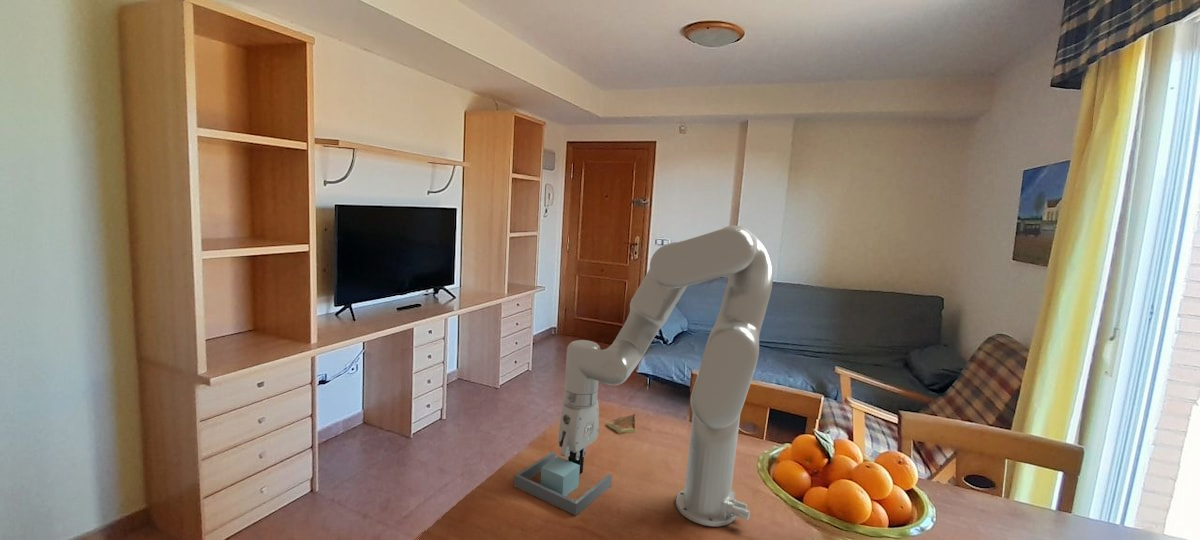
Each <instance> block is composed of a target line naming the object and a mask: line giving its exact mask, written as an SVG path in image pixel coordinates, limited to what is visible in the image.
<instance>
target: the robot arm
mask: <svg viewBox="0 0 1200 540" xmlns="http://www.w3.org/2000/svg"><path fill="white" fill-rule="evenodd" d="M773 272H774V270H773V264H772V261H771V257H770V255H769V253H768V251H767V249H766V247H765V246H764V244H763V243H762V242H761V241H760V239H759V238H758V237H757V236H756V235H755V234H754V233H753V232H751V231H750V230H749V229H747V228H745V227H743V226H742V225H741V226H740V225H734V224H733V225H727V226H725V227H723V228H721V229H717V230H715V231H714V230H713V231H711V232H708V233H704V234H701V235H698V236H695V237H692V238H687V239H685V240H681V241H678V242H676V241H674V242H670V243H667V244H663V245H662V246H660V247H659V248H657V250H656V251H655V252H654V253H653V254H652V256H651V258H650V261H649V269H648V271H647V273H646V275H645V277H644V278H643V279H642V281H641V283H640V285H639V286H638V287H637V289H636V291H635V293H634V294H633V296H632V298H631V300H630V303H629V313H628V315H627V318H626V320H625V322H624V324H623V325H622V328H620V330H619V332H618V334H617V336H616V338H615V339H614V340H613V342H612V344H610V345H609V346H608V347H607V348H604V349H601V346H600V345H599V344H598V343H597V342H595V341H591V340H585V339H579V340H574V341H571V342H570V343H569V344H568V345H567V348H566V360H565V371H564V372H565V374H564V376H565V377H564V386H563V387H564V388H563V405H562V410H561V414H560V419H559V426H558V427H559V428H558V436H557V437H558V438H557V439H558V442H557V443H558V447H560V448H561V449H560V450H561V451H560V456H562V457H563V458H567V457H568V459H567V460H568V461H571V462H573V463H576V464H578V465H580V471H579V476H580V475H581V474H583V472H584V461H585V459H584V458H585V456H586V454H587V447H589V446H590V445H591V444H592V443H594V442H596V440H597V439H598V438H599V432H600V430H599V429H600V428H599V427H600V408H599V399H598V396H599V395H598V393H599V383H601V384H605V385H607V386H608V385H609V386H619V385H621V384H623V383H624V382H626V381H627V380H628V379H629V378H630V376H631V375H632V372H634V370H635V369H636V368H637V366H638V365H639V363H640V362H641V360H642V359H643V357H644V355H645V354H646V352H647V350H648V348H649V347H650V346H651V344H652V342H653V341H654V339H655V337H656V336H657V334H658V333H659V331H660V330H661V329H662V328H663V327H664V325H665V323H666V322H667V320H668V319H669V317H670V316H671V313H672V312H673V310H674V309H675V307H676V305H677V304H678V303H679V301H680V299H681V297H682V296H683V295H684V292H685V291H686V289H687V288H688V286H693V285H696V284H701V283H704V282H708V281H712V280H716V279H719V278H724V277H726V276H728V280H727V285H726V288H725V291H724V294H723V298H722V303H721V306H720V309H719V313H718V315H717V318H716V321H715V324H714V325H713V327H712V329H711V331H710V332H709V336H708V339H707V341H706V345H705V348H704V351H703V354H702V358H701V361H700V365H699V367H698V371H697V375H696V378H695V381H694V385H693V388H692V391H691V394H690V408H691V411H692V417H691V425H690V426H691V428H690V435H689V447H688V452H687V453H688V455H687V465H686V472H685V473H686V474H685V475H686V476H685V484H684V488H683V489H682V490H680V491H679V492H678V493H677V495H676V499H675V506H676V508H677V510H678V511H679V512H680V514H681V515H682V516H683V517H684V518H686V519H688V520H690V521H692V523H696V524H699V525H702V526H708V527H722V526H726V525H727V526H728V525H729V524H732V523H733V522H734V521H735V519H736V518H737V517H738V518H740V519H742V520H745V521H748V522H749V519H750V515H751V510H749V509H748V503H745V502H743V501H739V500H737V498H735V496H736V491H735V490H734V489H732V488H733V487H732V486H733V478H734V471H735V462H736V456H737V454H736V453H737V445H738V438H739V437H738V436H739V428H740V422H741V421H740V419H741V413H742V410H743V407H744V404H745V402H746V398H747V396H748V393H749V390H750V386H751V384H752V381H753V377H754V374H755V371H756V367H757V365H758V361H759V356H760V334H761V330H762V325H763V322H764V319H765V316H766V312H767V308H768V305H769V301H770V297H771V293H772V288H773V283H774V282H773V281H774V273H773Z"/></svg>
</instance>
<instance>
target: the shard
mask: <svg viewBox="0 0 1200 540" xmlns="http://www.w3.org/2000/svg"><path fill="white" fill-rule="evenodd" d="M635 418H636V414H635V413H634V414H631V415H628V416H627V415H626V416H622V417H618V418H615V419H612V420H609V421H607V423H606V427H608V426H609V427H608V428H610V429H612V430H614V431H615V432H617V433H618V434H624V433H625V434H626V433H635V432H636V419H635Z"/></svg>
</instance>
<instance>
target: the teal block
mask: <svg viewBox="0 0 1200 540" xmlns="http://www.w3.org/2000/svg"><path fill="white" fill-rule="evenodd" d="M579 471H580V465H578V464H576V463H573V462H571V461H568V459H566V458H565V457H560V456H556V458H555V459H553V460H552V461H550V462H549V463H547V464H546V465H544V466H542V467H541V472H540V483H539V484H540V485H542V486H544V487H547V488H549V489H551V490H553V491H555V492H557V493H560V494H562V495H564V496H566V497H567V496H568V495H570V493H572V492H573V491H574V490H576V489H577V488H578V487H579V483H580V475H579Z"/></svg>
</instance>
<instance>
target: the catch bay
mask: <svg viewBox="0 0 1200 540" xmlns="http://www.w3.org/2000/svg"><path fill="white" fill-rule="evenodd" d="M556 457H557V452H556V451H554V450H553V451H551V452H550V453H548V454H546V455H545V456H543V457H541V458H540V459H539V460H537V461H535V462H533V463H532V464H530V465H529V466H527V467H526V468H524V469H522V470H521V471H519V472H517V473H516V474H514V477H513V487H515V488H517V489H519V490H522V491H523V492H526V493H527V494H530V495H532V496H534V497H536V498H537V499H539V500H540V499H541V500H542V501H545V502H546V503H548V504H550V505H553V506H555V507H557V508H559V509H561V510H562V511H565V512H568V513H569V514H571V515H574V516H577V515H579V514H580V513H581V512H582V511H583V510H584V509H586V508H587V507H588V506H589V505H590V504H592V502H594V501H595V500H596V499H597V498H599V496H601V495H602V494H603V493H605V492H606V491H607V490H608V489H609V488H610V487H611V486H612V479H613V475H612V474H610V473H609V474H607V475H606V476H605V477H604V478H602V479H601V480H600V481H598V483H595V485H593V486H592V487H591V488H590V489H589V490H587V491H586V492H585V493H583V494H582V495H581V496H580V497H578V498H577V499H576V500H574V499H573V498H570V497H569V496H567V495H566V496H564V495H562V494H560V493H557V492H555V491H553V490H551V489H549V488H547V487H544V486H542V485H540V484H541V483H538V482H536V481H533V480H531V478H534V477H535V476H537V474H539V473H541V467H542V466H544V465H546V464H547V463H549V462H550V461H552V460H553V459H555V458H556Z"/></svg>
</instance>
